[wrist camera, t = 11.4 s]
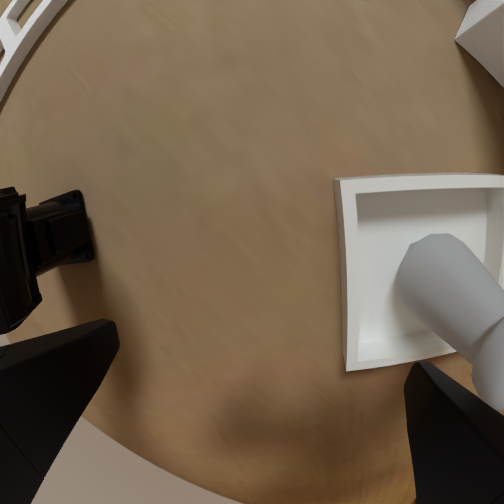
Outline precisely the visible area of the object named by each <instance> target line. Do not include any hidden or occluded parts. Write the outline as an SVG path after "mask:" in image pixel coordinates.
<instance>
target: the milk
mask: <svg viewBox="0 0 504 504" xmlns="http://www.w3.org/2000/svg"><path fill="white" fill-rule="evenodd" d="M455 41H456V42H457V43H459V44H460V45H461V46H462V47H463V48H464V49H465V50H466V51H468V52H469V53H470V54H471V55H472V56H473V57H474V58H475V59H476V60H477V61H478V62H479V63H480V64H481V65H482V66H483V67H484V68H485V69H486V70H487V71H488V72H489V73H490V74H491V75H492V76H493V77H494V78H495V79H496V80H497V81H498V83H499V84H500V85H501V86H502V87H503V88H504V0H476V1H475V2H473V3H472V4H471V5H470V6H469V8H468V10H467V12H466V15H465V17H464V19H463V22H462V24H461V26H460V29H459V31H458V33H457V35H456V37H455Z"/></svg>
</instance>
